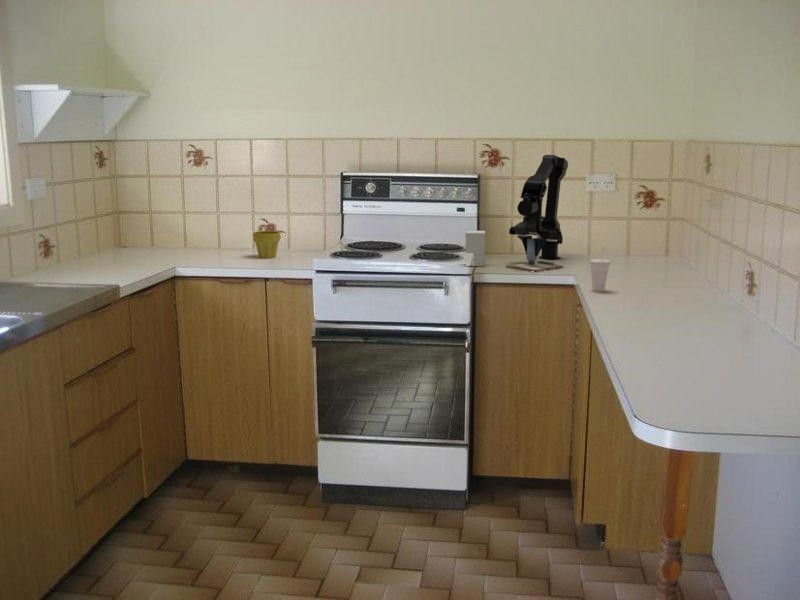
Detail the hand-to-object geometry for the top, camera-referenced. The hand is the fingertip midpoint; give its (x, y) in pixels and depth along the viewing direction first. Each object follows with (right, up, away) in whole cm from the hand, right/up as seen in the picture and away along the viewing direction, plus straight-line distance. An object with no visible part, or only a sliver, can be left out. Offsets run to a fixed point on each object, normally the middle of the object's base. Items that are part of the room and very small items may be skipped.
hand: (531, 255), depth 311 cm
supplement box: (-21, -4, +2) cm, 22 cm away
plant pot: (-101, 0, +15) cm, 102 cm away
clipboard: (+1, -5, -3) cm, 5 cm away
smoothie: (+14, -14, -45) cm, 49 cm away
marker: (0, -3, +1) cm, 3 cm away
